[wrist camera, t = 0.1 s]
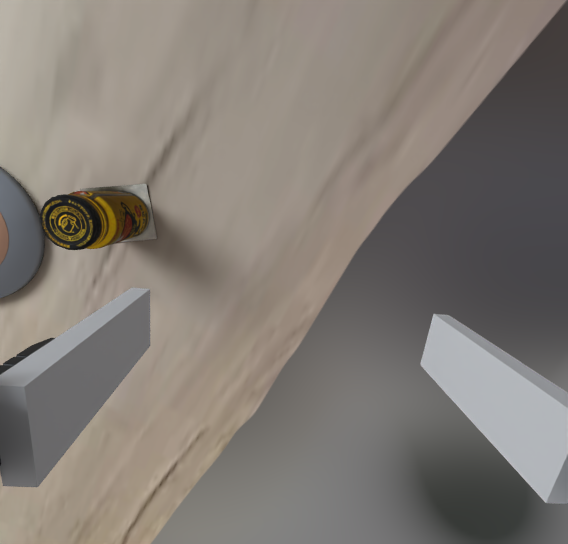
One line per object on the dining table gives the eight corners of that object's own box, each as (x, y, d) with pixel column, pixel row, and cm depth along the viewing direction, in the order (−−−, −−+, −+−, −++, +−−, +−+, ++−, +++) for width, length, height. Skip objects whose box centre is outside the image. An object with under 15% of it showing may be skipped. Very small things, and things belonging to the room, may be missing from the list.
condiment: (157, 238, 39) (111, 256, 28) (95, 244, 39) (22, 263, 27) (147, 183, 37) (92, 177, 26) (81, 189, 37) (-4, 185, 25)
